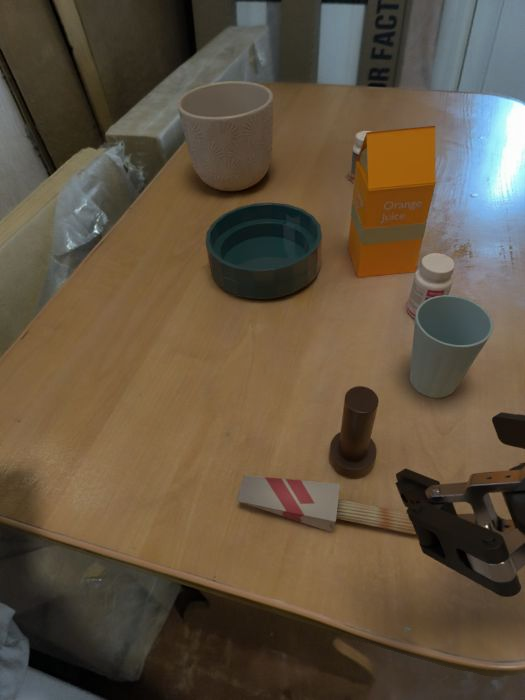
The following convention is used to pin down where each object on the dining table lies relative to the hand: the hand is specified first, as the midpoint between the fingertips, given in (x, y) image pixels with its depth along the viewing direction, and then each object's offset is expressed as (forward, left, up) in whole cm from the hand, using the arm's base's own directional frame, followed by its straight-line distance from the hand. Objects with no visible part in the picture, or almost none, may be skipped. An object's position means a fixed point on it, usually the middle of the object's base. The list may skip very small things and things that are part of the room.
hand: (452, 454), depth 31 cm
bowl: (+13, -43, -16) cm, 47 cm away
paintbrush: (+7, -2, -16) cm, 18 cm away
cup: (-7, -19, -16) cm, 26 cm away
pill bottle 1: (-6, -68, -16) cm, 70 cm away
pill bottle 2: (-9, -31, -16) cm, 36 cm away
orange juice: (-5, -43, -16) cm, 46 cm away
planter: (+19, -71, -16) cm, 75 cm away
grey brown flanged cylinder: (+4, -9, -16) cm, 19 cm away
